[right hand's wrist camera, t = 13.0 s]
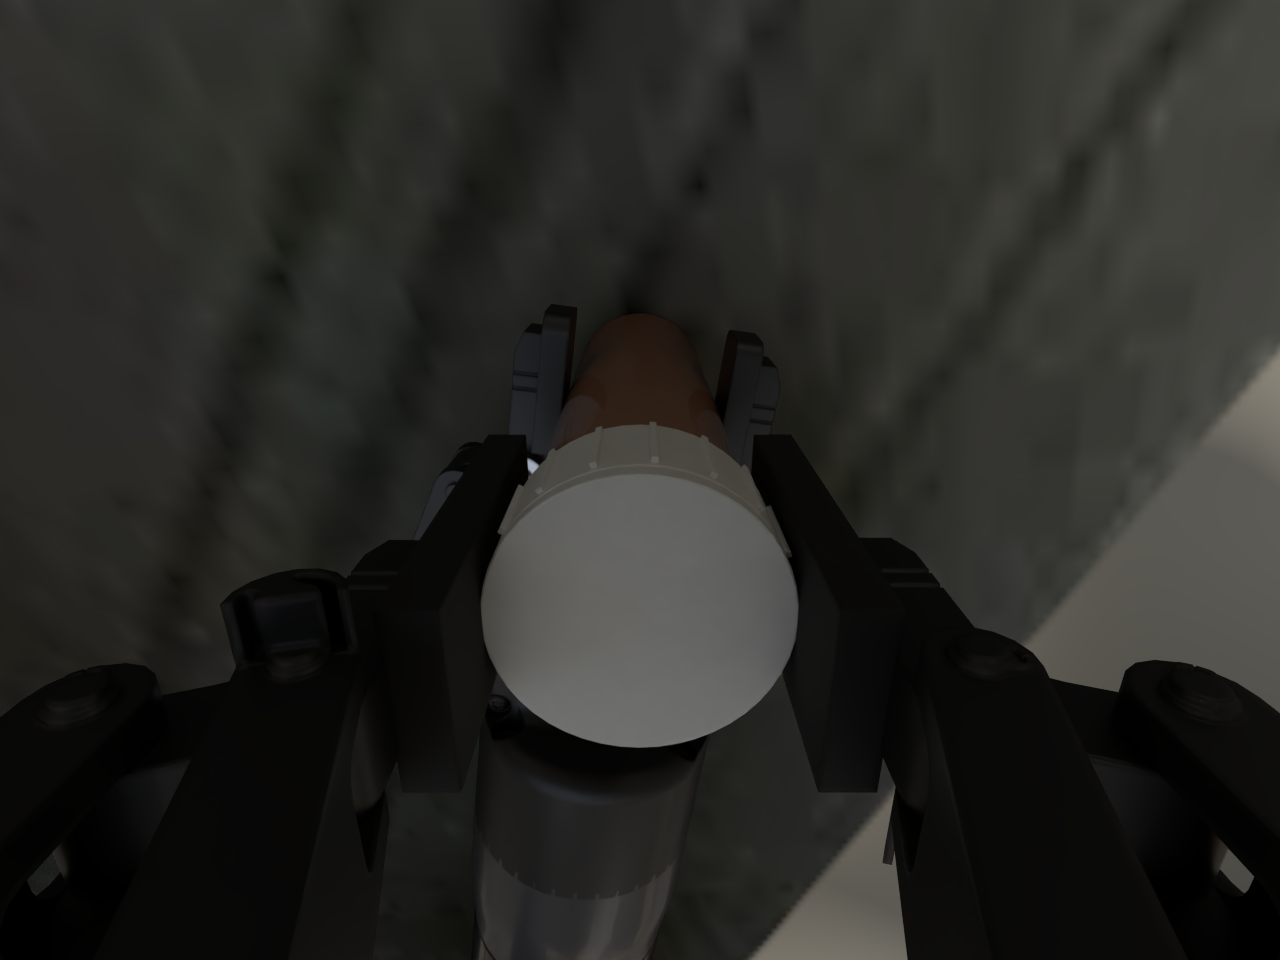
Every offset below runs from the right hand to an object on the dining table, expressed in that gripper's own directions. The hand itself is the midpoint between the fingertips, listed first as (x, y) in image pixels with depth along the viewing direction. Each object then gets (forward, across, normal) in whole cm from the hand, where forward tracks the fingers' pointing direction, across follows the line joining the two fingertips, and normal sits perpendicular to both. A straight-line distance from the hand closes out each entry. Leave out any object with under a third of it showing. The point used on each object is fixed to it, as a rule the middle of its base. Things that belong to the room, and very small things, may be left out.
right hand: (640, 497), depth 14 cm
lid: (-4, 0, 0) cm, 4 cm away
